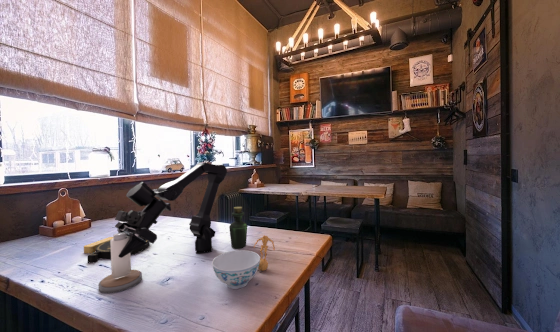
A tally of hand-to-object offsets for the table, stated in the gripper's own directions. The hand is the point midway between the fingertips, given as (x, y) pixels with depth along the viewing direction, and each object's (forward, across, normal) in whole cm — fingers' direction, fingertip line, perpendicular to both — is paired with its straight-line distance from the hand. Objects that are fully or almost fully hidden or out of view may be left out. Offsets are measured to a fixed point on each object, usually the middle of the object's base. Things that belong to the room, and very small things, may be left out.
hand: (116, 255), depth 74 cm
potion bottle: (-25, +10, +39) cm, 47 cm away
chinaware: (-8, +32, +22) cm, 40 cm away
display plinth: (+6, 0, +8) cm, 10 cm away
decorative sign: (-3, -35, +17) cm, 39 cm away
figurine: (-17, +34, +31) cm, 49 cm away
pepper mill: (+4, 0, +6) cm, 7 cm away
